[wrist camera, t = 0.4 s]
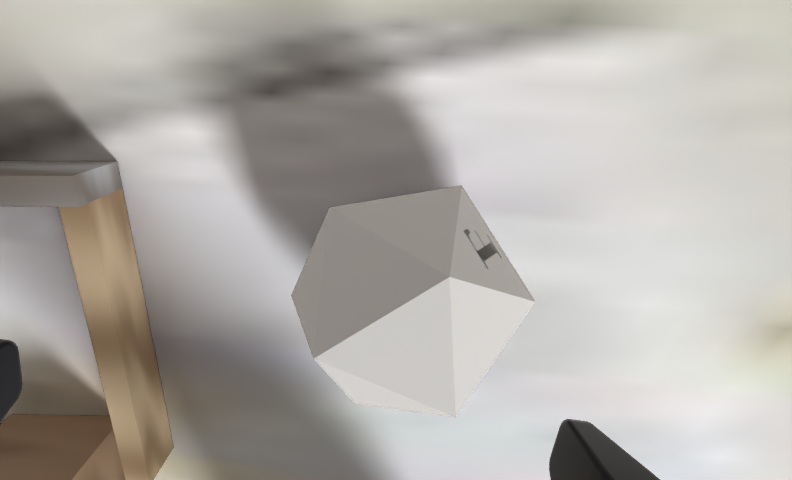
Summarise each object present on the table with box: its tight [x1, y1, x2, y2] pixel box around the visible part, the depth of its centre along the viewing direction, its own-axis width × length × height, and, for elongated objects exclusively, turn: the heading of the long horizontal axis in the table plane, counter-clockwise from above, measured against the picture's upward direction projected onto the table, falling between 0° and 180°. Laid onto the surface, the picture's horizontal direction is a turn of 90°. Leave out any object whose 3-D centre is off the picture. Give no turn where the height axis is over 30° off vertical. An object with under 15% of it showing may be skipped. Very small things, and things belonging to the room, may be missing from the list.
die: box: [291, 186, 535, 417], centre depth 19 cm, size 8×9×10 cm
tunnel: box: [0, 161, 174, 480], centre depth 22 cm, size 16×11×3 cm
